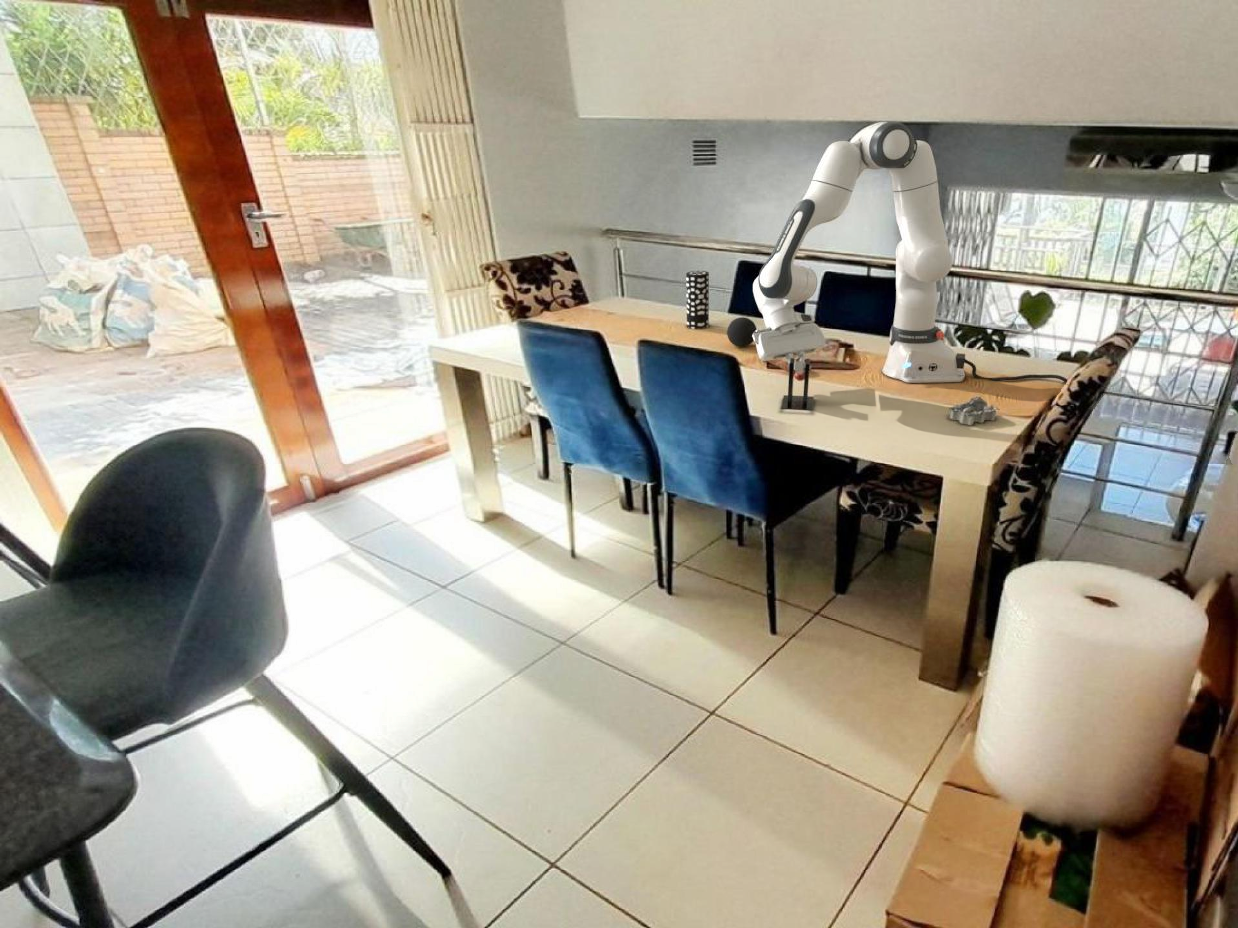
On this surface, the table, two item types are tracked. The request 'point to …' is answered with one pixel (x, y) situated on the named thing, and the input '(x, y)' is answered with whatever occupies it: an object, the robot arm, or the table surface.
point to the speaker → (741, 332)
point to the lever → (799, 371)
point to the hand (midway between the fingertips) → (800, 368)
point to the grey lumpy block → (973, 411)
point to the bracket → (798, 401)
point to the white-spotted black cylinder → (697, 299)
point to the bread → (783, 363)
